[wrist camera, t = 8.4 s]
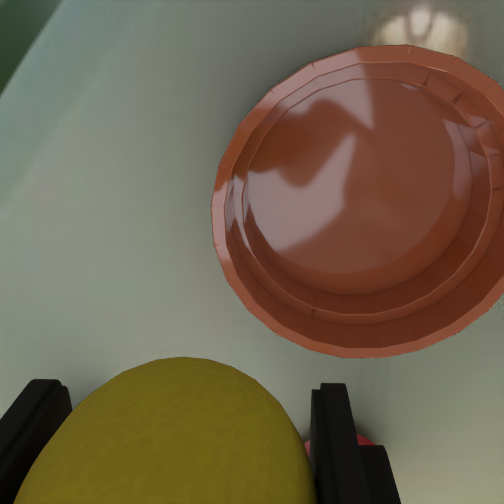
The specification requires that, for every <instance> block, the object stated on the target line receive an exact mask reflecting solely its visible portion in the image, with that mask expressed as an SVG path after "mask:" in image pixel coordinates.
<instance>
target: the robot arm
mask: <svg viewBox="0 0 504 504" xmlns="http://www.w3.org/2000/svg"><path fill="white" fill-rule="evenodd" d="M72 411H73V410H72V405H71V401H70V396H69V391H68V388H67V387H66V386H62V385H61V382H60V381H59V380H56V379H34V380H31V381H30V382H29V383H28V384H27V386H26V387H25V388H24V390H23V391H22V392H21V394H20V395H19V396H18V397H17V399H16V400H15V401H14V403H13V404H12V405H11V406H10V408H9V409H8V410H7V412H6V413H5V414H4V415H3V417H2V418H1V419H0V504H13V503H14V501H15V499H16V496H17V494H18V492H19V490H20V487H21V485H22V483H23V481H24V480H25V478H26V476H27V474H28V472H29V470H30V468H31V466H32V465H33V463H34V462H35V460H36V459H37V457H38V456H39V454H40V453H41V451H42V450H43V448H44V447H45V446H46V444H47V443H48V442H49V440H50V439H51V438H52V437H53V435H54V434H55V433H56V431H57V430H58V429H59V427H60V426H61V425H62V424H63V422H64V421H65V420H66V418H67V417H68V416H69V415H70V413H71V412H72ZM309 460H310V464H311V468H312V472H313V476H314V480H315V484H316V488H317V493H318V500H319V504H401V501H400V498H399V494H398V491H397V487H396V484H395V480H394V477H393V473H392V470H391V466H390V462H389V459H388V455H387V452H386V450H385V448H384V446H383V445H359V443H358V439H357V434H356V430H355V425H354V420H353V416H352V411H351V406H350V402H349V397H348V393H347V388H346V385H345V383H321V386H320V390H315V389H312V397H311V425H310V453H309Z"/></svg>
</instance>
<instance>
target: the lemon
mask: <svg viewBox="0 0 504 504" xmlns="http://www.w3.org/2000/svg"><path fill="white" fill-rule="evenodd" d="M13 504H319V500H318V493H317V488H316V484H315V480H314V476H313V472H312V468H311V464H310V460H309V457H308V454H307V451H306V448H305V445H304V443H303V441H302V438H301V436H300V434H299V432H298V431H297V429H296V428H295V426H294V424H293V423H292V421H291V420H290V418H289V416H288V415H287V413H286V412H285V410H284V409H283V407H282V405H281V404H280V403H279V402H278V401H277V400H276V399H275V398H274V397H273V396H272V395H271V394H270V393H269V392H268V391H267V390H266V389H265V388H264V387H263V386H262V385H261V384H259V383H258V382H257V381H256V380H255V379H253V378H251V377H250V376H248V375H246V374H244V373H243V372H241V371H239V370H237V369H236V368H234V367H232V366H229V365H225V364H222V363H219V362H216V361H212V360H209V359H201V358H191V357H175V358H167V359H158V360H154V361H151V362H148V363H146V364H143V365H140V366H137V367H135V368H132V369H129V370H127V371H124V372H122V373H120V374H119V375H117V376H116V377H114V378H113V379H111V380H110V381H108V382H107V383H105V384H104V385H102V386H101V387H100V388H98V389H97V390H95V391H94V392H92V393H91V394H90V395H89V396H88V397H86V398H85V399H84V400H83V401H82V402H81V403H80V404H79V405H78V406H77V407H76V408H75V409H74V410H73V411H72V412H71V413H70V415H69V416H68V417H67V418H66V420H65V421H64V422H63V424H62V425H61V426H60V427H59V429H58V430H57V431H56V433H55V434H54V435H53V437H52V438H51V439H50V440H49V442H48V443H47V444H46V446H45V447H44V448H43V450H42V451H41V453H40V454H39V456H38V457H37V459H36V460H35V462H34V463H33V465H32V466H31V468H30V470H29V472H28V474H27V476H26V478H25V480H24V481H23V483H22V485H21V487H20V490H19V492H18V494H17V496H16V499H15V501H14V503H13Z"/></svg>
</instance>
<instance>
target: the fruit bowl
mask: <svg viewBox="0 0 504 504" xmlns="http://www.w3.org/2000/svg"><path fill="white" fill-rule="evenodd" d="M211 216H212V230H213V244H214V247H215V250H216V252H217V255H218V258H219V261H220V264H221V266H222V269H223V272H224V275H225V277H226V279H227V282H228V283H229V284H230V286H231V287H232V289H233V290H234V291H235V293H236V294H237V296H238V297H239V299H240V300H241V301H242V303H243V304H244V306H245V307H246V309H247V310H248V311H249V312H250V313H252V314H253V315H254V316H255V317H256V318H258V319H259V320H260V321H261V322H262V323H264V324H265V325H266V326H267V327H268V328H270V329H271V330H272V331H273V332H274V333H276V334H277V335H279V336H281V337H283V338H285V339H287V340H290V341H292V342H294V343H296V344H298V345H300V346H302V347H304V348H306V349H309V350H311V351H315V352H320V353H324V354H329V355H333V356H337V357H342V358H382V357H383V358H386V357H390V356H395V355H399V354H404V353H409V352H413V351H418V350H420V349H423V348H426V347H428V346H430V345H432V344H435V343H437V342H439V341H441V340H443V339H446V338H448V337H450V336H452V335H454V334H456V333H459V332H460V331H461V330H463V329H464V328H465V327H467V326H468V325H469V324H471V323H472V322H473V321H475V320H476V319H477V318H479V317H480V316H482V315H483V314H484V313H486V312H487V311H488V310H489V308H491V307H492V306H493V305H494V304H495V302H496V301H497V300H498V299H499V298H500V297H501V295H502V294H503V293H504V90H503V89H502V88H501V87H500V85H499V84H498V83H497V82H496V81H495V80H493V79H492V78H490V77H489V76H487V75H485V74H484V73H482V72H480V71H479V70H477V69H476V68H474V67H472V66H471V65H469V64H467V63H466V62H464V61H463V60H461V59H459V58H458V57H454V56H452V55H448V54H444V53H440V52H436V51H432V50H428V49H424V48H421V47H417V46H413V45H385V46H361V47H356V48H352V49H348V50H343V51H340V52H337V53H334V54H331V55H328V56H325V57H322V58H319V59H316V60H313V61H310V62H307V63H306V64H303V65H302V66H300V67H298V68H297V69H295V70H294V71H292V72H291V73H289V74H288V75H286V76H285V77H283V78H282V79H280V80H279V81H277V82H276V83H274V84H273V85H272V86H271V87H270V88H269V89H268V90H267V91H266V92H265V93H264V94H263V96H262V97H261V98H260V99H259V100H258V101H257V102H256V103H255V105H254V106H253V107H252V108H251V109H250V110H249V111H248V112H247V114H246V115H245V117H244V118H243V119H242V121H241V122H240V124H239V125H238V127H237V129H236V131H235V133H234V135H233V137H232V139H231V141H230V143H229V145H228V147H227V149H226V151H225V153H224V155H223V157H222V159H221V161H220V164H219V166H218V171H217V176H216V181H215V186H214V191H213V196H212V201H211Z"/></svg>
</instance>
